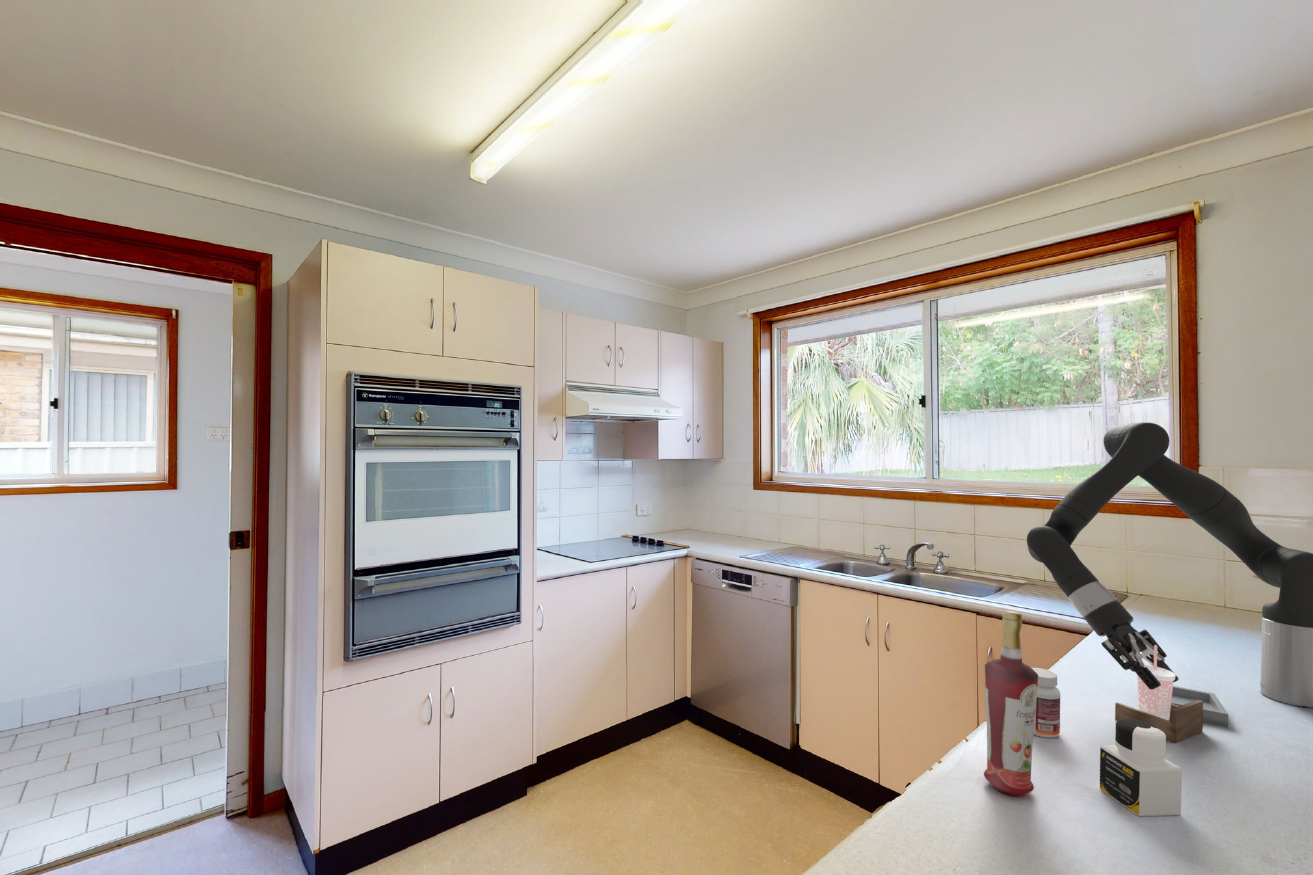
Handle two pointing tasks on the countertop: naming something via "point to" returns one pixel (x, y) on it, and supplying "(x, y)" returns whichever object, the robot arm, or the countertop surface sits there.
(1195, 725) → the walnut bay
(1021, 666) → the liquor
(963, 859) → the countertop surface
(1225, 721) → the grey tray
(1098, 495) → the robot arm
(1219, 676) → the countertop surface
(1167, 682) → the beverage cup
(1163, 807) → the medicine bottle
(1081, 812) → the countertop surface
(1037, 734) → the pill bottle
